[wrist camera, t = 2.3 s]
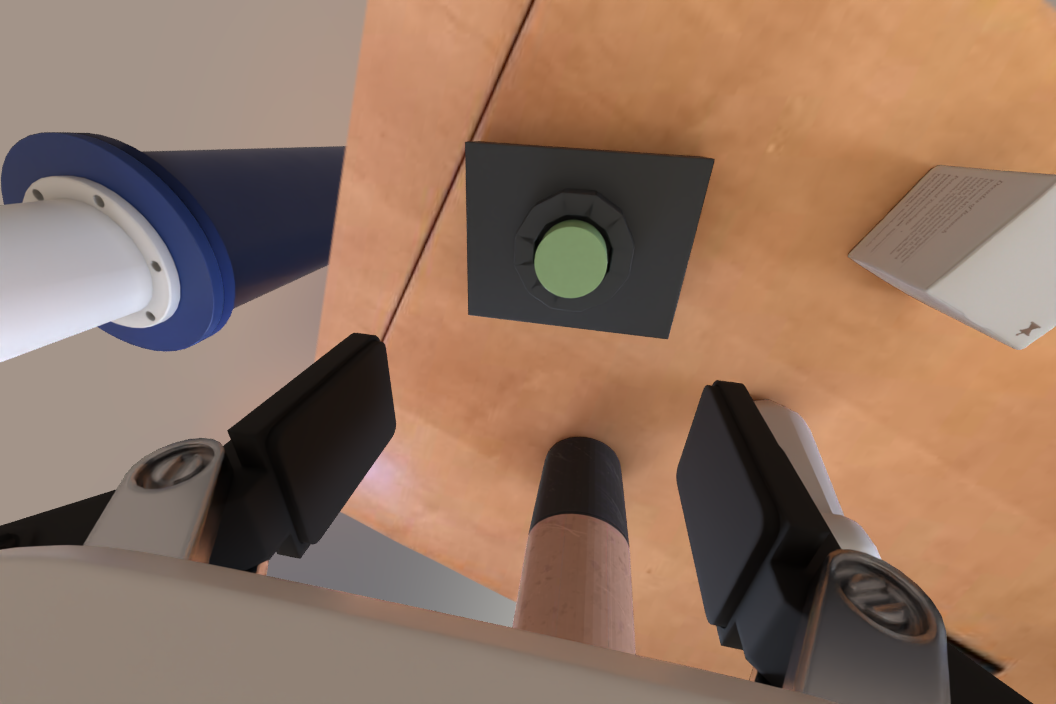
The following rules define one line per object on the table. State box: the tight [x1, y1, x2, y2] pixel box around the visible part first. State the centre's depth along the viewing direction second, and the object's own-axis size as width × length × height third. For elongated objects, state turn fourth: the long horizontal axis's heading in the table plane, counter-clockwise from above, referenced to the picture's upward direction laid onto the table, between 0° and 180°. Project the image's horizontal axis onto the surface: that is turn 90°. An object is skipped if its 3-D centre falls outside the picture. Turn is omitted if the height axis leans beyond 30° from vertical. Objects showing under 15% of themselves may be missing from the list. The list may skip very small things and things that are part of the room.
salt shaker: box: [754, 399, 881, 559], centre depth 26 cm, size 6×6×13 cm
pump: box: [534, 220, 607, 298], centre depth 22 cm, size 4×4×2 cm
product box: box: [848, 165, 1056, 350], centre depth 21 cm, size 6×6×7 cm
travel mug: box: [512, 437, 636, 655], centre depth 28 cm, size 8×8×20 cm
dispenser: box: [465, 141, 714, 339], centre depth 25 cm, size 14×11×5 cm
